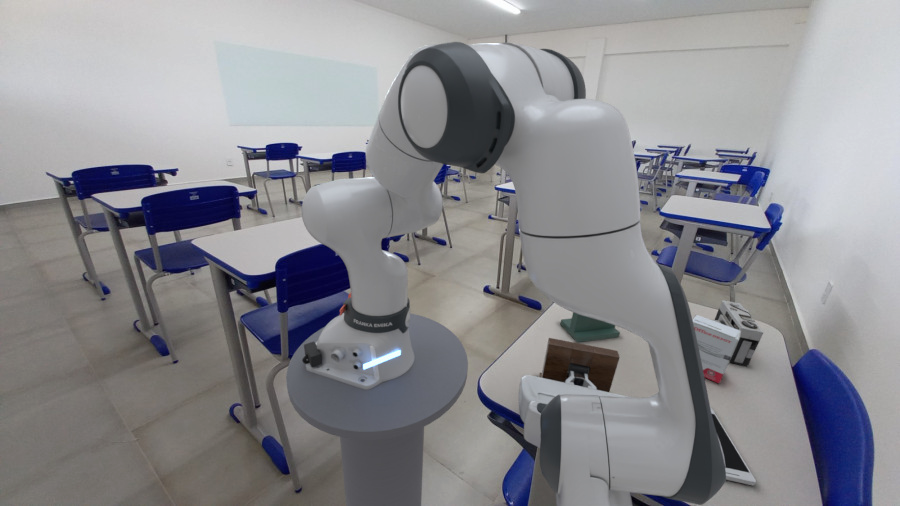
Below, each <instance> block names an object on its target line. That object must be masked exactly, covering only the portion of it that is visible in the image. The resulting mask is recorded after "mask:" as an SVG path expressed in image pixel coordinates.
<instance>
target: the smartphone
mask: <svg viewBox="0 0 900 506" xmlns="http://www.w3.org/2000/svg"><path fill="white" fill-rule="evenodd" d="M710 409H711V414H712V418H713V422H714V426H715V429H716V433H717V435H718V438H719V440H720V443H721V446H722V450H723V454H724V459H725V471H726V481H731V482H736V483H740V484H745V485H749V486H755V484H756V482H757V481H756V478H755V477H754V475H753V473H752V471H751V470H750V468H749V466H748V465H747V464H746V462H745V460H744V458H743V457H742V455H741V453H740V452H739V450H738V448H737V447H736V445H735V444H734V442H733V440H732V438H731V437H730V435H729V433H727V430H726V429H725V427H724V425H723V424H722V422H721V421H720V419H719V417H718V416H717V414H716V412H715V411H714V409H713V408H712V407H711V406H710Z"/></svg>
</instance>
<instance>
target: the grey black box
mask: <svg viewBox="0 0 900 506" xmlns="http://www.w3.org/2000/svg"><path fill="white" fill-rule="evenodd" d="M752 317H753V316H752V314H751V313H750V311H749V310H748V309H746V308H745V307H744V306H743V305H742V303H739V302H734V301H729V300H724V299H723V300H721V303H720V305H719V308H718V310H717V312H716V315H715V317H714V319H711V320H712V321H715V322H718V323H721V324H723V325H726V326H729V327H732V328H735V329H737V330H740V331H741V335H740V338H739V341H738V343H737V346H736V348H735V350H734V353H733V355H732V357H731V359H730V362H729V364H733V365H738V366H741V367H742V366H743V367H748V366H749V365H750V362H751V361H752V358H753V356H754V354H755V352H756V349H757V347H758V345H759V343H760V342H761V339H762V337H763V335H764V333H765V332H764V331H763V329H762V328H761V327H760V326H759V324H758V323H757V322H756V320H755V319H752Z"/></svg>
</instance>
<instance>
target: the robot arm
mask: <svg viewBox="0 0 900 506" xmlns="http://www.w3.org/2000/svg"><path fill="white" fill-rule="evenodd" d="M586 97H587V89H586V82H585V79H584V76H583V74H582V72H581V70H580V69H579V67H578V65H576V64H575V63H574V62H573V61H572V60H571V59H570V58H569V57H567V56H566V55H564V54H562V53H561V52H558V51H556V50H553V49H550V48H537V47H534V46H529V45H525V44H520V43H515V42H498V43H493V42H491V43H469V44H466V43H464V42H461V41H450V42H443V43H439V44H427V45H423V46H420V47H418V48H417V49H416V50H414V51H413V52H412V53H411V54H410V55H409V56H408V58H407V59H406V60H405V62H404V64H403V65H402V66H401V68H400V70H399V71H398V73H397V74H396V76H395V78H394V80H393V81H392V83H391V85H390V87H389V89H388V90H387V93H386V95H385V97H384V100H383V102H382V104H381V107H380V109H379V111H378V114H377V117H376V120H375V123H374V125H373V128H372V131H371V134H370V135H369V139H368V141H367V144H366V147H365V161H366V165H367V168H368V171H369V173H370V174H371V176H369V177H368V176H367V177H354V178H340V179H339V178H338V179H334V180H330V181H326V182H322V183H320V184H317V185H314V186H311V187H310V188H309V189H308V191H307V192H306V194H305V195H304V197H303V200H302V204H301V218H302V222H303V225H304V228H305V229H306V231H307V232H308V234H309V235H310V236H311V237H312V238H313V239H314V240H315V241H317V242H318V243H320V244H322V245H323V246H326V247H328V248H329V249H330V250H332V251H333V252H334V253H336V254H337V255H338V256H339V258H340V259H341V260H342V261H343V263H344V265H345V267H346V270H347V275H348V280H349V287H350V288H349V289H350V293H348V295H347V299H345V300H344V302H343V303H342V306H341V307H340V309H339V314H338V315H337V316H335V317H334V318H332V319H331V320H330V321H329V322H328V323H327V324H326V325H325V326H324V327H325V328H324V327H323V328H324V329H323V330H322V332H321V334H320V336H319V338H318V341H317V342H316V343H315V342H311V343H307V344H304V350H305V356H304V357H303V359H302V361H303V363H305V364H306V370H307V371H310V372H313V373H316V374H319V375H322V376H325V377H328V378H331V379H334V380H337V381H340V382H343V383H346V384H349V385H352V386H355V387H358V388H361V389H365V390H369V389H372V388H374V387H375V386H377V385H379V384H380V383H382V382H385V381H388V380H392V379H395V378H397V377H399V376H401V375H403V374H404V373H406V372H407V371H408V370H409V369H410V368H411V366H412V365H413V363H414V359H415V355H414V351H413V349H412V345H411V341H410V335H409V324H410V313H411V304H410V302H411V301H410V299H409V295H408V294H409V293H408V292H409V269H408V266H407V264H406V263H405V261H404V260H403V259H402V258H401V257H400V256H398V255H397V254H395V253H393V252H390V251H388V250H383V249H382V242H383V239H385V238H391V237H397V236H402V235H407V234H408V235H409V234H413V233H417V232H420V231H423V230H424V229H427V228H429V227H432V226H434V225H436V223H437V222H438V221H439V220H440V218H441V216H442V212H443V208H444V202H443V195H442V192H441V189H440V188H439V186H438V184H437V183H436V182H435V179H436V177H437V176H438V174H439V173H440V171H441V169H442V167H444V165H447V166H453V167H458V168H462V169H465V170H468V171H471V172H473V173H476V174H482V175H483V174H485V173H487V172H489V170H491V169H492V168H493V167H494V166H496V167H499V168H500V169H502V170H503V171H504V172H505V173H506V174H507V175H508V177H509V178H510V180H511V182H512V184H513V187H514V192H515V198H516V208H517V219H518V220H517V222H518V231H519V240H520V248H521V253H522V258H523V262H524V267H525V270H526V274H527V276H528V278H529V280H530V281H531V283H532V284H533V286H535V288H536V289H537V290H538V291H539V292H540V294H541V295H543V296H545V297H546V298H547V300H550V301H551V302H552V303H554V304H556V305H557V306H559V307H561V308H562V309H565V310H566V311H569V312H572V313H573V312H574V313H576V314H579V315H582V316H586V317H589V318H593V319H597V320H600V321H603V322H607V323H610V324H613V325H615V327H618V328H621V329H622V330H623V329H624V330H626V331H628V332H630V333H633V334H634V335H636V336H638V337H640V338H641V339H643V340H644V341H645V342H647V344H648V348H649V352H650V358H651V362H652V365H653V370H654V374H655V375H654V376H655V379H656V384H657V388H658V391H657V392H656V393H655V394H653V395H650V396H645V397H635V396H634V397H633V396H628V395H625V394H624V395H623V394H619V393H614V392H606V391H601V390H597V389H596V386H595V385H594V384H593V383H592V382H591V381H590V380H588V375H587V374H585V373H579V372H575V371H570V374H569V378H568V379H567V380H566V381H565V383H564V382H559V381H554V380H550V379H545V378H541V377H539V376H535V375H531V374H525V375H523V376H521V377H520V381H519V387H518V411H519V413H518V414H519V417H520V419H521V421H522V422H523V439H524V440H525V441H526V442H528V443H529V444H531V445H533V446H535V447H536V448H538V449H539V465H540V466H539V467H540V471H541V474H542V475H543V477H544V478H545V480H546V482H547V483H548V485H549V487H550V488H551V489H552V491H553V492H554V493H555V506H633V505H634V504H633V500H632V495H631V494H632V493H633V494H642V495H649V496H658V497H663V498H665V499H669V500H674V501H679V502H684V503H689V504H694V505H699V506H703V505H704V504H706V503H707V502H708V501H709V500H711V499H712V498H713V497H714V496H715V495H717V493H718V492H719V491H720V490H721V489H722V487H723V486H724V484H725V483H726V481H727V480H726V471H725V459H724V454H723V450H722V446H721V443H720V440H719V438H718V435H717V433H716V429H715V426H714V422H713V418H712V414H711V409H710V407H711V405H710V400H709V394H708V389H707V384H706V378H705V377H704V373H703V368H702V362H701V357H700V352H699V347H698V342H697V338H696V333H695V329H694V324H693V320H692V319H693V316H692V312H691V307H690V305H689V302H688V301H689V300H688V299H687V296H686V293H685V290H684V288H683V286H682V284H681V282H680V280H679V279H678V277H677V275H676V274H675V272H674V271H673V270H672V269H671V268H670V267H668V266H666V265H663V264H660V263H658V262H656V261H655V260H654V259H653V257H652V256H651V254H650V251H648V248H647V247H646V243H645V241H644V238H643V234H642V225H641V196H640V186H639V177H638V176H639V175H638V170H637V169H638V168H637V163H636V155H635V153H634V152H635V151H634V147H633V141H632V138H631V134H630V129H629V126H628V122H627V120H626V118H625V116H624V114H623V113H622V112H621V110H619V109H618V108H616V107H615V106H614V105H613V104H611V103H608V102H604V101H602V100H598V99H593V98H586Z"/></svg>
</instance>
